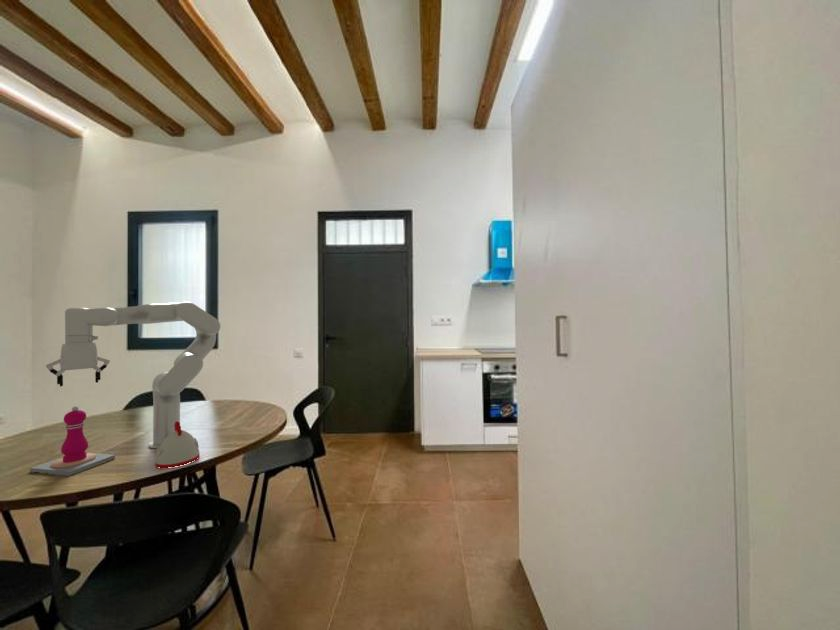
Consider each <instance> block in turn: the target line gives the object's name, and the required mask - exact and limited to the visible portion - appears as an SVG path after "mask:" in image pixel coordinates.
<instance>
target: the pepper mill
mask: <svg viewBox="0 0 840 630" xmlns="http://www.w3.org/2000/svg"><path fill="white" fill-rule="evenodd" d="M86 418H87V414H86V412H85V411H84V410H81V409H79V406H73V407H71V411H68V412H67V413H66V414H65V415H64V417H63V422H64V423H65V430H66V433H67V434H66V437H65V439H64V442H63V444H62V445H61V449H60V453H61V454H63V456H62V457H63V462H64V463H69V462H75V461H79V460H82V459H84V458H86V457H87V453H88V452H87V451H86V450H87V449H88V448H89V442H88V439H87V438H86V437H85V434H84V431H83V429H84V428H83V427H85V420H86ZM86 452H87V453H86Z"/></svg>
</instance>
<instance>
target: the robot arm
mask: <svg viewBox="0 0 840 630" xmlns="http://www.w3.org/2000/svg"><path fill="white" fill-rule="evenodd" d="M172 322H173V323H174V322H185V323H186V324H188V325H190V326H191V327H192V328H194V330H195V332H196V333H195V334H196V335H195V338H194V340H193V341H192V342H191V344H189V346H187V347H186V348H185V350H184V351H182V352H181V353H180V354H179V355H177V357H176V358H175V360H173V361H174V362H173V366H172V367H171V369H170V370H169V371H163V372H161V373H159V374H157V375H156V376H155V377H154V379H153V381H152V384H151V386H152V387H151V388H152V389H151V390H152V400H153V401H152V402H153V405H152V408H153V411H152V427H153V428H152V429H153V430H152V438H153V439H152V441H150V442H149V443H148V448H150V449H157V448H158V446H160V445H161V444H162V442H163V441H164V440H165V438H166V437H167V436H168V435H170V434H171V433H172V432H174V431H175V426H174V424H175V422H177V421H178V422H179V423H180V424H181V394H180V393H181V392H182V391H183V390H184V389H186V387H187V386H188V385H190V383H192V381H193V380H194V379H195V378H196V377H197V376H198V375H199V374H200V372H202V371H201V370H202V369H203V368H204V359H205V358H206V357H207V356H208V355H209V353H211V351H212V350H213V349H214V348H215V347H214V346H215V345H216V341H217V334H218V333H219V332H220V330H221V323H220V321H219V320H218V319H217V318H216V317H215V316H213V315H211V314H210V313H209V312H207V311H205V310H204V309H202V308H201V307H200V306H198V305H196V304H194V302H191V301H181V302H168V303H167V302H166V303H165V302H164V303H148V304H141V305H136V306H135V305H134V306H126V307H125V306H124V307H120V306H119V307H95V308H87V307H69V308H67V309H65V311H64V336H65V337H64V343H62V345H61V348H60V356H59V357H60V359H59V358H58V359H57V360H54V361H53V362H49V363H48V364H46V365H45V367H46V368H47V369H48V370H49V372H50V373H52V374H53V375H54V376H56V385H59V387H63V385H64V375H63V373H64V372H65V371H73V370H85V369H93V370H94V371H95V374H94V375H95V380H94V381H95V383H99V381H101V372H103V371H104V369H106V368H107V367H108V365H109V364H110V359H107V358H104V357H101V356H99V355H98V349H97V343H96V342H94V341H96V340H98V339H99V337H98V335H96V336H95V335H94V333H93V332H94V327H93V326H95V327H96V326H97V327H111V326H120V325H121V326H122V325H134V324H135V325H137V324H141V325H143V324H144V325H151V324H161V323H172ZM99 361H100V362H103V364H102V365H101V366H100V367H99V366H98V363H99ZM58 364H59V367H60V369H58V370H57V369H55V368H54V366H56V365H58Z"/></svg>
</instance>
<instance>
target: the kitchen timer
mask: <svg viewBox="0 0 840 630" xmlns="http://www.w3.org/2000/svg"><path fill="white" fill-rule="evenodd" d="M174 426H175V431H174V432H172V433H171V434H170V435H168V436H167V437H166V438H165V440H164V441H163V442H162V444H161V445H160V446H158V448H156V454H155V466H156V467H160V468H168V467H175V466H180V465H184V464H187V463H189V462H192V461H194V460H196V459H197V458H198V457H199V458H200V450H199V443H198V439H197V438H195V437H194V436H193V435H192V434H191V433H189V432H187V431H186V430H183V429H182V426H181V422H180V423H179V422H178V421H177V422H175V424H174ZM156 467H155V468H156Z"/></svg>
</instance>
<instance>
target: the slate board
mask: <svg viewBox="0 0 840 630" xmlns="http://www.w3.org/2000/svg"><path fill="white" fill-rule="evenodd" d="M85 452H86V453H87V457H86V458H84V459H82V460H79V461H75V462H69V463H64V462H63V457H64V456H62V457H60V458H56V459H54V460H50V461H47V462H45V463H40V464H38V465H35V466H31V467H29V473H34V472H40V473H39V474H44V473H48V475H53V474H54V475H56V476H66V477H70V476H72V475H75V474H78V473H81V472H83V471H85V470H89V469H91V468H94V467H97V466H99V465H102V464H104V462H105V463H107V461H108V462H110V461H113V460H115V459H116V454H109V453H108V454H107V453H98V452H87V451H85ZM112 459H113V460H112Z"/></svg>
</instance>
